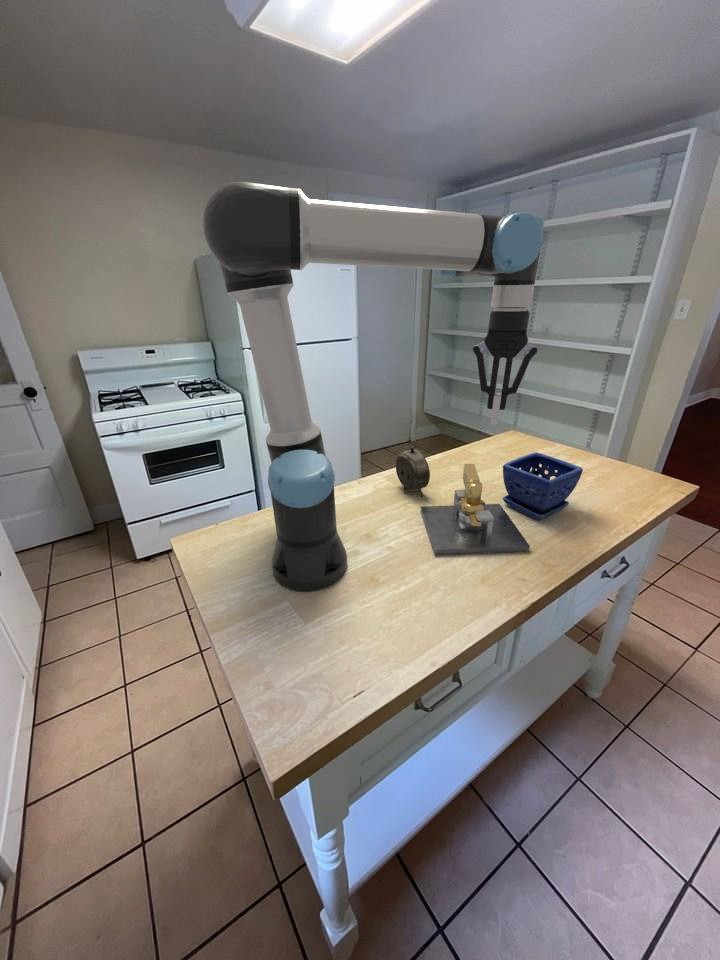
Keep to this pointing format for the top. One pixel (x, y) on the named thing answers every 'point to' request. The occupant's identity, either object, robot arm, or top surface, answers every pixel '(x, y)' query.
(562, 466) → the flower pot
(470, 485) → the lever handle
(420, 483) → the alarm clock
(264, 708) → the top surface
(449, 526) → the socket
